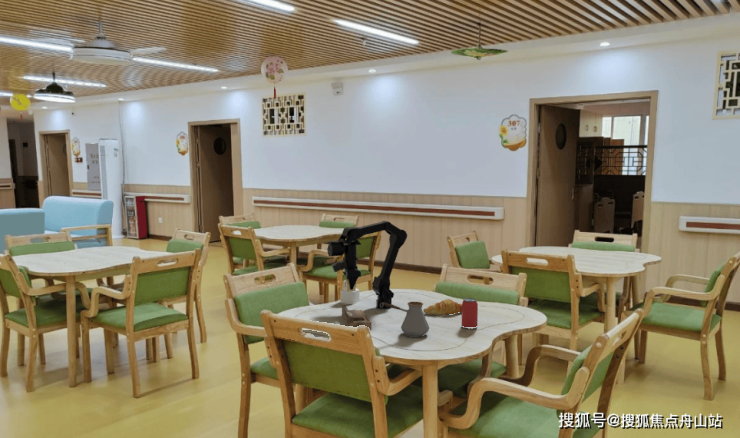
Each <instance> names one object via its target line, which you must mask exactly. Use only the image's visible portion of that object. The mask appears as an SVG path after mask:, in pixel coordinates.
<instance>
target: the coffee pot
mask: <svg viewBox="0 0 740 438" xmlns="http://www.w3.org/2000/svg"><path fill="white" fill-rule="evenodd" d="M382 304H383V305H386V306H389V307H391V308H390V309H394V310H398V311H399V310H400V311H402V312H405V313H406V315H405V317H404V319H403V321H402V324H401V326H400V329H401V331H402V332H403V333H404V334H405V336H407V335H408V336H407V337H409V336H410V338H420V337H419V336H422V337H424V336H425V335H426V334H427V333H428V332H429V330H430V326H429V325H430V324H429V323H428V321H427V319H426V316H425V314H424V311H423V306H424V303H423V302H422V301H409V302H407V303H406V304H407V305H408V309H404V308H401V307H400V306H397V305H394V304H392V305H391V304H388V303H384V302H382ZM380 305H381V304H380ZM380 307H381V306H380ZM382 307H383V306H382ZM424 334H425V335H424ZM423 335H424V336H423ZM411 336H412V337H411Z"/></svg>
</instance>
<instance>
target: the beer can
mask: <svg viewBox="0 0 740 438" xmlns="http://www.w3.org/2000/svg"><path fill="white" fill-rule="evenodd" d="M461 304H462V312H461V327H462V326H464V327H476V326H477V327H478V315H479V313H478V312H479V309H478V307H479V306H478V305H479V304H478V302H477V299H476V298H472V297H465V298H463V301H462V303H461Z"/></svg>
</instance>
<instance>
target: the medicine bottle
mask: <svg viewBox="0 0 740 438" xmlns="http://www.w3.org/2000/svg"><path fill="white" fill-rule="evenodd" d="M339 292H340V297H339V298H340V304H348V305H355V304H357V303H359V302H360V289H359V288H356V291H348V292H347V291H346V290H345V280H343V289H341V290H340V291H339Z"/></svg>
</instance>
